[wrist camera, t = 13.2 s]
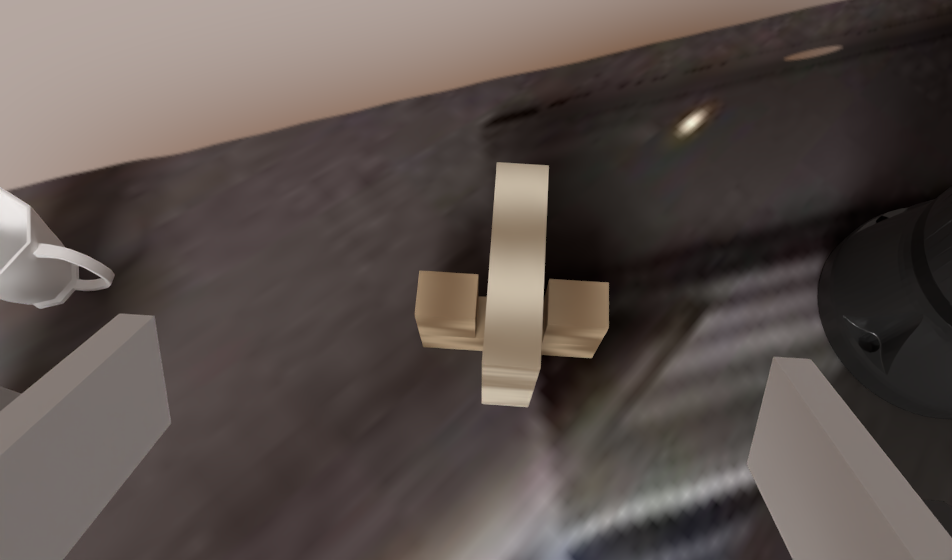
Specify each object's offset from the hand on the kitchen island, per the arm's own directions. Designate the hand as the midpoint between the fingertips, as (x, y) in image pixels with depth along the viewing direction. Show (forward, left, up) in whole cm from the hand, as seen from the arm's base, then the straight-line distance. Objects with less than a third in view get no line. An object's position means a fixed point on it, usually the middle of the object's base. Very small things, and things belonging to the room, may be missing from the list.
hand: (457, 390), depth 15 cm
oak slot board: (+1, -12, -33) cm, 35 cm away
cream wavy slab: (+1, -12, -30) cm, 32 cm away
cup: (+33, -5, -33) cm, 47 cm away
